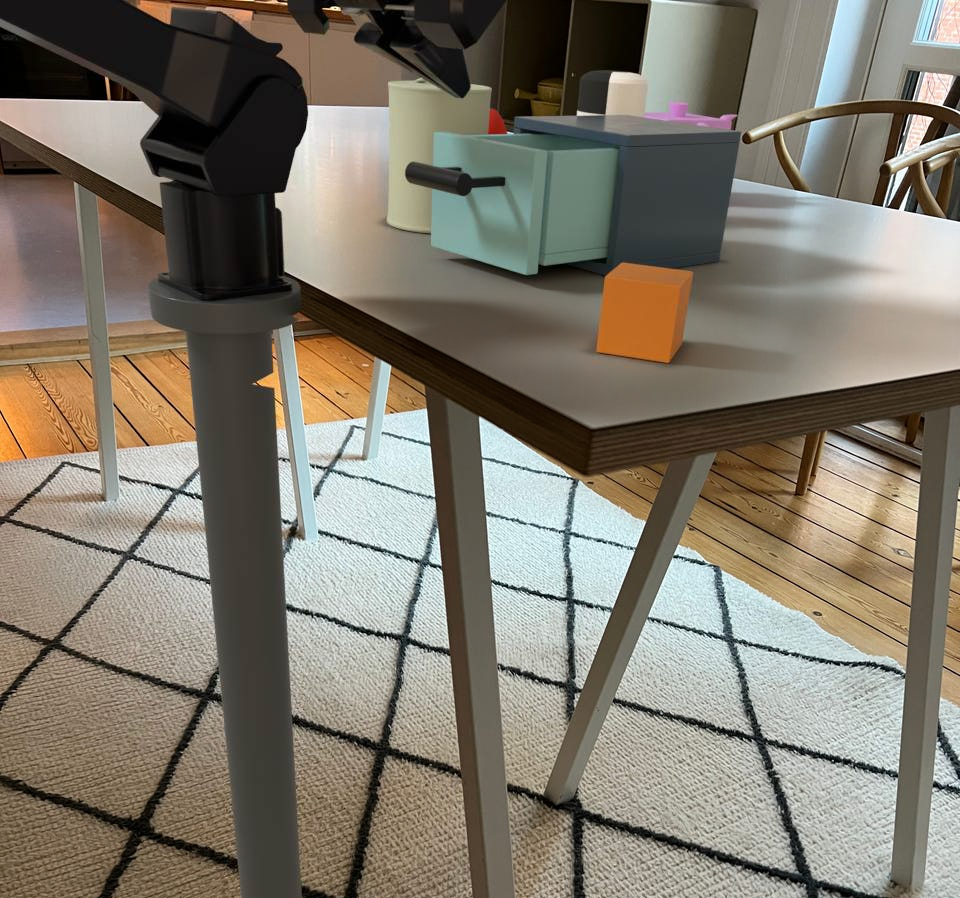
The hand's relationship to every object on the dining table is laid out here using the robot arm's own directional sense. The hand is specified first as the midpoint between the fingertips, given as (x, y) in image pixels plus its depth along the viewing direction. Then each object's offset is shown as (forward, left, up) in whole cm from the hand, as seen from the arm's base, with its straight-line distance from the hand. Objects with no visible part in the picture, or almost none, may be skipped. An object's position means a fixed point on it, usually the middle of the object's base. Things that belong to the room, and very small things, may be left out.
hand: (463, 93), depth 71 cm
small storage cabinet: (+17, 0, -12) cm, 21 cm away
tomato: (+35, +42, -12) cm, 56 cm away
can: (+11, +17, -12) cm, 24 cm away
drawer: (+6, 0, -11) cm, 13 cm away
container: (+30, +14, -12) cm, 36 cm away
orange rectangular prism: (-3, -21, -12) cm, 24 cm away
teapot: (+48, +21, -12) cm, 54 cm away
